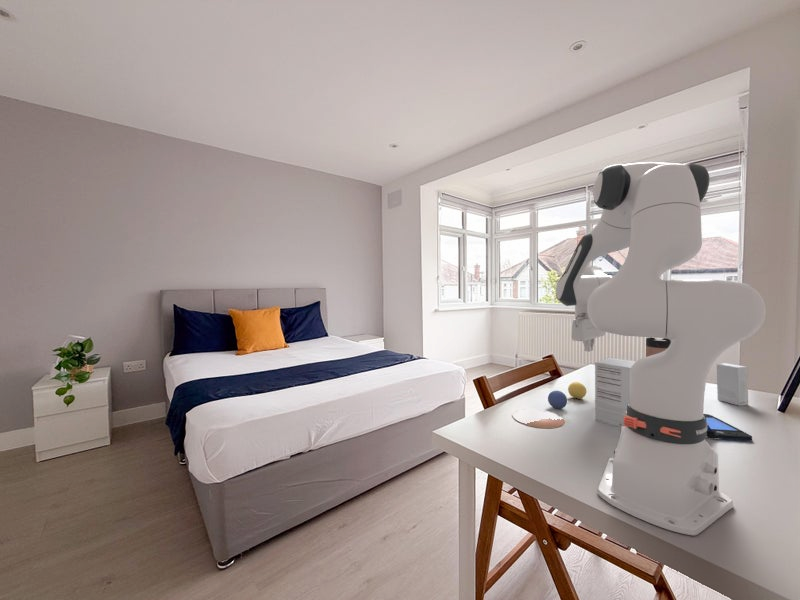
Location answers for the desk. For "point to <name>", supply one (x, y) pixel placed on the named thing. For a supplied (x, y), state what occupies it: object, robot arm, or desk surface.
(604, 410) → the supplement box
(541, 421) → the mark
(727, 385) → the skincare box
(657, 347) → the travel mug
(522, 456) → the desk surface
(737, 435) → the handheld game console
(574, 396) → the ball
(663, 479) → the robot arm
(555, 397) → the ball
